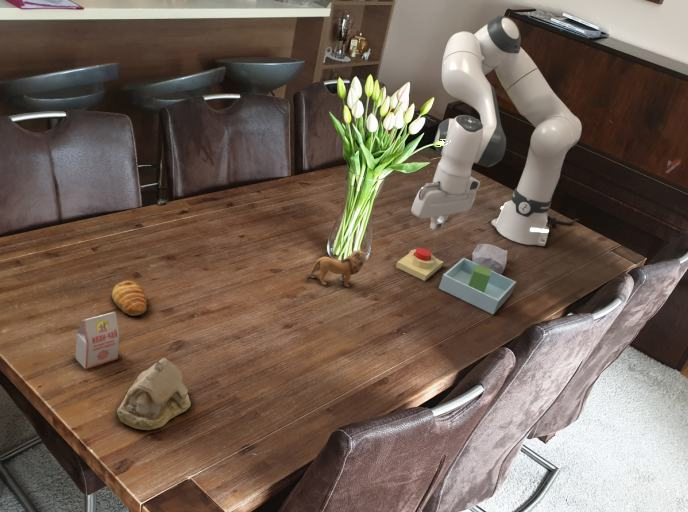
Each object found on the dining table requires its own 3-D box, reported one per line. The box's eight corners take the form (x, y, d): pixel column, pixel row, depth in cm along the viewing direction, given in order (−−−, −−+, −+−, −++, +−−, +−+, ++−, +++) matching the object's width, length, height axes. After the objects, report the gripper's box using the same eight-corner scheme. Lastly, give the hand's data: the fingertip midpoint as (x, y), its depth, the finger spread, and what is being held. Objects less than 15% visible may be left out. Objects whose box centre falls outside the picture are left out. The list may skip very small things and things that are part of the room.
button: (418, 251, 210) (420, 246, 209) (432, 258, 208) (434, 252, 207) (411, 256, 206) (413, 250, 205) (425, 263, 205) (427, 257, 204)
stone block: (470, 272, 218) (505, 276, 216) (472, 256, 215) (507, 260, 214) (472, 256, 228) (505, 260, 226) (474, 241, 225) (508, 245, 224)
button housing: (413, 253, 215) (417, 243, 213) (441, 266, 212) (445, 256, 210) (395, 267, 206) (398, 256, 204) (424, 281, 203) (428, 269, 201)
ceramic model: (145, 376, 145) (149, 334, 139) (198, 397, 143) (205, 355, 138) (105, 418, 133) (108, 373, 128) (162, 441, 132) (168, 397, 126)
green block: (468, 282, 206) (475, 264, 203) (484, 288, 206) (491, 269, 203) (466, 290, 203) (474, 271, 199) (482, 295, 202) (490, 276, 199)
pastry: (153, 315, 161) (155, 301, 159) (122, 319, 158) (123, 304, 156) (139, 292, 167) (140, 277, 165) (108, 295, 164) (109, 280, 162)
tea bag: (75, 358, 144) (77, 315, 139) (107, 348, 149) (110, 306, 143) (85, 369, 142) (87, 325, 137) (117, 359, 147) (120, 316, 141)
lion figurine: (354, 276, 196) (363, 246, 191) (362, 287, 192) (371, 256, 187) (302, 275, 190) (309, 244, 185) (308, 287, 186) (316, 255, 181)
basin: (458, 270, 213) (463, 257, 211) (511, 295, 208) (516, 281, 206) (438, 288, 201) (443, 274, 199) (493, 314, 197) (498, 300, 194)
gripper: (431, 189, 187) (416, 238, 194) (484, 182, 199) (468, 229, 207) (414, 178, 190) (400, 227, 198) (467, 172, 203) (452, 218, 210)
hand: (435, 228), depth 202 cm, fingers closed
